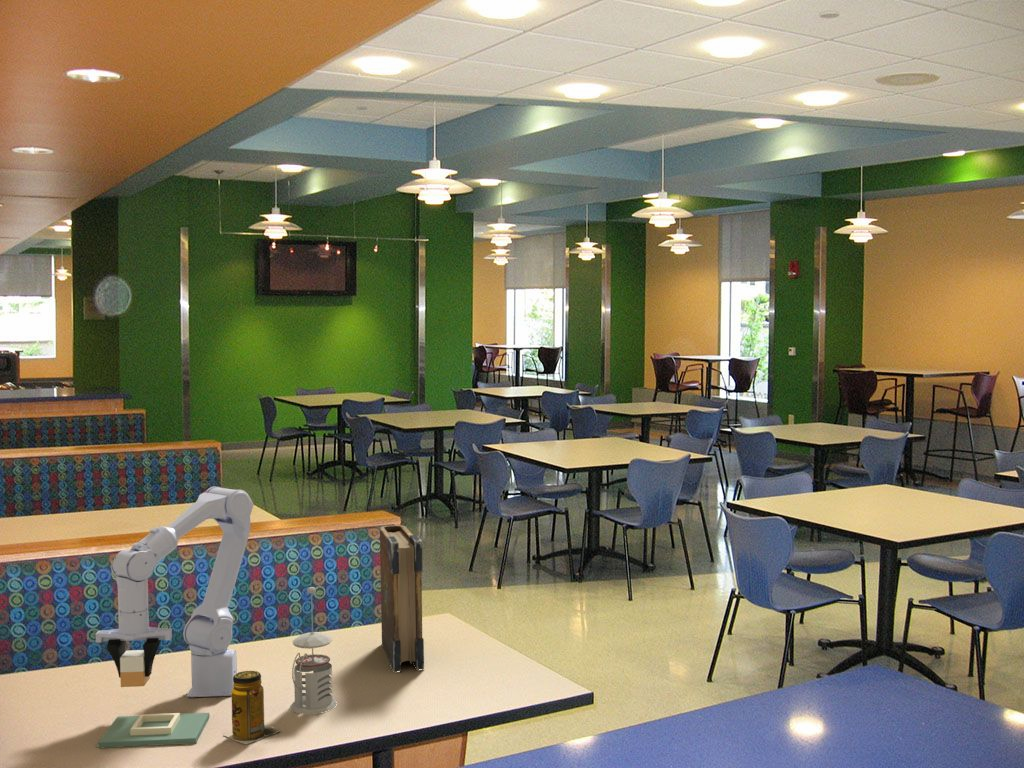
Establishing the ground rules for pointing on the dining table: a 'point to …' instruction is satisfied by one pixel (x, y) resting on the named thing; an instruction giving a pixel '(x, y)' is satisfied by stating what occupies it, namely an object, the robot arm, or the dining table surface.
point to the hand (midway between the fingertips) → (135, 675)
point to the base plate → (154, 730)
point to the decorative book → (401, 596)
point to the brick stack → (133, 669)
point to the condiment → (248, 709)
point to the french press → (312, 674)
